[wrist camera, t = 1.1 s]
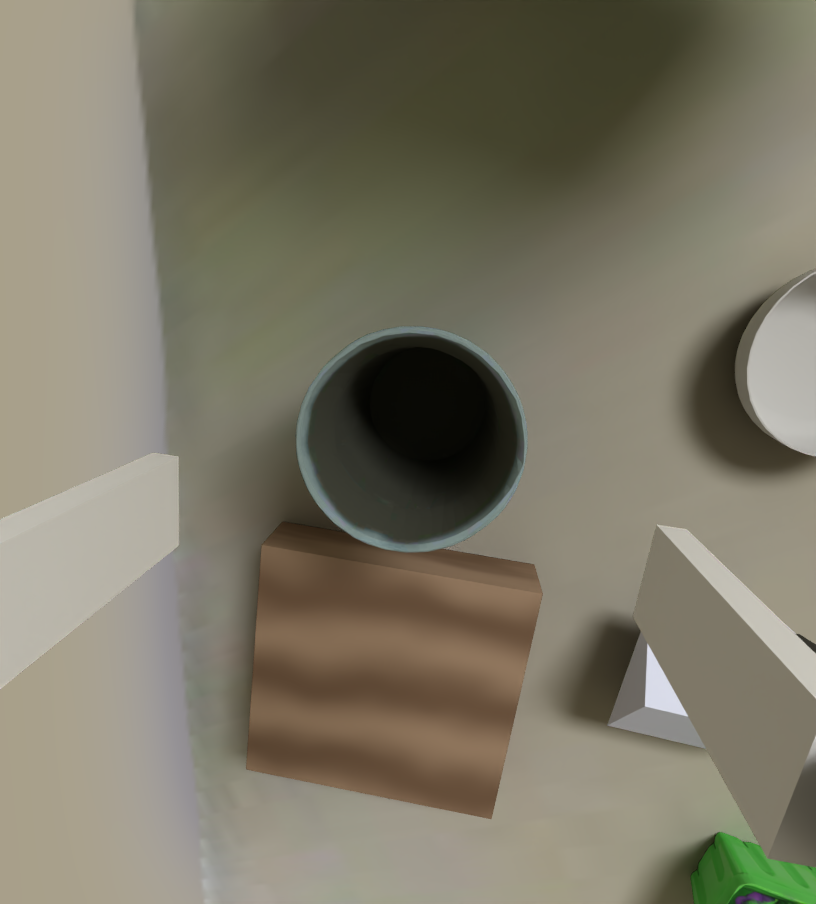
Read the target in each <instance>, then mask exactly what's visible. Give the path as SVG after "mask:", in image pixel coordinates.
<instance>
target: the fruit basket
mask: <svg viewBox="0 0 816 904" xmlns="http://www.w3.org/2000/svg"><path fill="white" fill-rule="evenodd" d="M691 884H692V892H693V899H694V904H816V868H815V867H810V866H805V865H799V864H794V863H788V862H783V861H778V860H772V859H767V857H766V855H765V854H764V852H763V850H762V848H761V846H759V845H756V844H754V843H751V842H742V841H741V840H739V839H738V838H736V837H733V836H730V835H728V834H725V833H722V832H719V833H717V835H716V836H715V841H714V843H713V844H712V845H711V846H709V848H708V849H707V851H706V852H705V854H704V856H703V857H702V859H701V861H700V862H699V865H698V870H696V871H695V872H693V873H692V875H691Z"/></svg>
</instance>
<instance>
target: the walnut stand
mask: <svg viewBox="0 0 816 904" xmlns="http://www.w3.org/2000/svg"><path fill="white" fill-rule="evenodd" d="M542 595H543V593H542V589H541V586H540V583H539V579H538V576H537V572H536V569H535V566H534V564H528V563H522V562H516V561H510V560H504V559H499V558H493V557H487V556H481V555H475V554H469V553H463V552H458V551H452V550H446V549H438V550H434V551H429V552H417V553H405V552H398V551H391V550H385V549H381V548H378V547H375V546H372V545H369V544H366V543H364V542H362V541H360V540H358V539H356V538H354V537H352V536H351V535H349V534H348V533H346V532H340V531H334V530H328V529H323V528H317V527H311V526H305V525H299V524H293V523H287V522H282V523H281V524H280V525H279V526H278V527H277V528H276V529H275V531H274V532H273V533H272V534H271V535H270V536H269V537H268V538H267V539H266V541H265V542H264V543H263V544H262V546H261V560H260V575H259V589H258V604H257V618H256V633H255V647H254V662H253V676H252V691H251V705H250V720H249V734H248V749H247V763H246V769H247V770H252V771H257V772H262V773H267V774H271V775H276V776H281V777H286V778H291V779H296V780H301V781H306V782H311V783H316V784H321V785H326V786H331V787H336V788H340V789H345V790H350V791H355V792H360V793H365V794H370V795H375V796H380V797H385V798H390V799H395V800H400V801H405V802H410V803H414V804H419V805H424V806H429V807H434V808H439V809H444V810H449V811H454V812H459V813H464V814H469V815H474V816H479V817H483V818H488V819H492V814H493V810H494V806H495V801H496V797H497V792H498V788H499V784H500V779H501V775H502V771H503V766H504V762H505V757H506V753H507V749H508V744H509V740H510V735H511V731H512V727H513V722H514V718H515V714H516V709H517V705H518V700H519V696H520V692H521V687H522V683H523V679H524V674H525V670H526V665H527V661H528V657H529V652H530V648H531V644H532V639H533V635H534V630H535V626H536V622H537V617H538V613H539V608H540V604H541V600H542Z"/></svg>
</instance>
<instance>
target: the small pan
mask: <svg viewBox="0 0 816 904" xmlns="http://www.w3.org/2000/svg"><path fill="white" fill-rule="evenodd" d="M735 382H736V386H737V391H738V396H739V398H740V401H741V403H742V405H743V407H744V410H745V411H746V413H747V414H748V415H749V417H750V418H751V420H752V421H753V422H754V423H755V424H756V425H757V426H758V427H759V428H760V429H761V430H762V431H763V432H765V433H766V434H768V435H769V436H771V437H772V438H774V439H775V440H777V441H778V442H780V443H782V444H783V445H786V446H788V447H789V448H791V449H794V450H796V451H799V452H801V453H804V454H806V455H811V456H816V269H813V270H810V271H808V272H806V273H804V274H802V275H800V276H798V277H796V278H794V279H792V280H791V281H789V282H788V283H787V284H785V285H784V286H782V287H781V288H780V289H778V290H777V291H776V292H775V293H774V294H773V295H772V296H770V297H769V298H768V299H767V300H766V301H765V302H764V303H763V304H762V306H761V307H760V308H759V310H758V311H757V312H756V313H755V315H754V316H753V317H752V319H751V320H750V322H749V324H748V326H747V328H746V329H745V331H744V333H743V335H742V338H741V341H740V343H739V346H738V349H737V355H736V360H735Z"/></svg>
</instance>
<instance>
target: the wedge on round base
mask: <svg viewBox="0 0 816 904" xmlns="http://www.w3.org/2000/svg"><path fill="white" fill-rule="evenodd" d="M785 625H786V624H785ZM794 633H795V632H794ZM795 634H796V633H795ZM607 726H612V727H616V728H620V729H624V730H628V731H633V732H637V733H641V734H645V735H650V736H654V737H658V738H662V739H666V740H671V741H675V742H679V743H683V744H688V745H692V746H696V747H700V748H704V749H706V748H705V746H704V744H703V742H702V740H701V739H700V737H699V735H698V733H697V731H696V730H695V728H694V726H693V724H692V722H691V721H690V719H689V717H688V715H687V713H686V712H685V710H684V708H683V706H682V704H681V703H680V701H679V699H678V697H677V695H676V694H675V692H674V690H673V688H672V686H671V685H670V683H669V681H668V679H667V677H666V676H665V674H664V672H663V670H662V668H661V667H660V665H659V663H658V661H657V659H656V658H655V656H654V654H653V652H652V650H651V649H650V647H649V645H648V643H647V642H646V640H645V638H644V636H643V634H642V633H641V632H640V635H639V638H638V641H637V643H636V646H635V649H634V652H633V655H632V657H631V660H630V663H629V666H628V669H627V671H626V674H625V677H624V680H623V683H622V685H621V688H620V691H619V694H618V697H617V699H616V702H615V705H614V708H613V711H612V713H611V716H610V719H609V722H608V725H607Z"/></svg>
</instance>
